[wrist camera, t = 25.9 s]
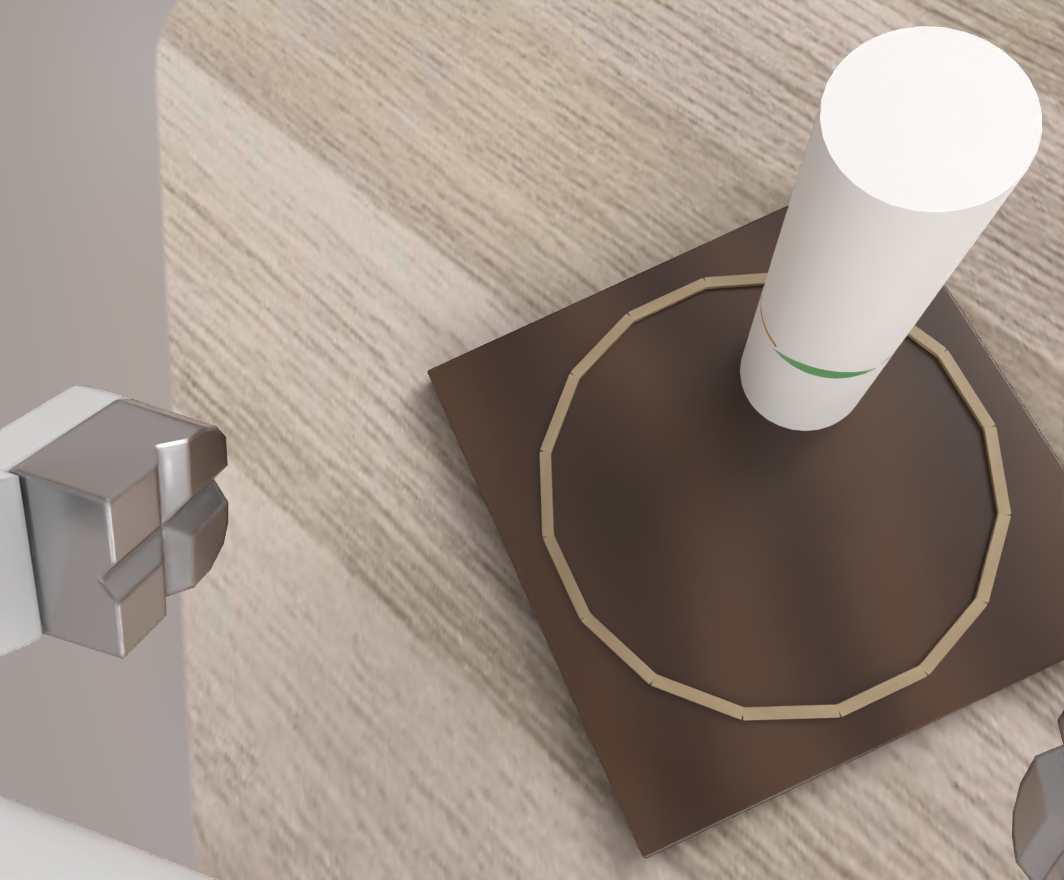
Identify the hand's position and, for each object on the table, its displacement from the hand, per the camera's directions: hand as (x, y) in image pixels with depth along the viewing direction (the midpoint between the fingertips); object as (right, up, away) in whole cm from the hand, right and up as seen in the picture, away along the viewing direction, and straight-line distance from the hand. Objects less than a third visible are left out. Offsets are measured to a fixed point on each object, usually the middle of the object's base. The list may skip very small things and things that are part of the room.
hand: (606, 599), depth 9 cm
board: (+7, 0, +25) cm, 26 cm away
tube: (+9, +4, +25) cm, 26 cm away
